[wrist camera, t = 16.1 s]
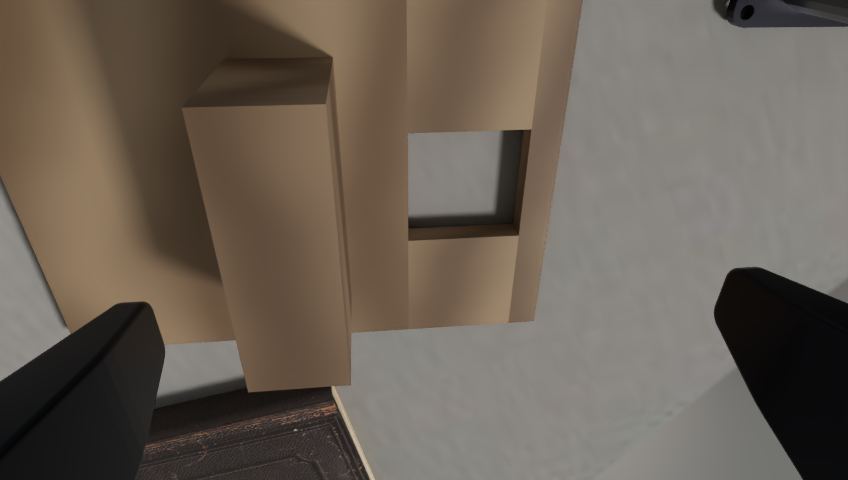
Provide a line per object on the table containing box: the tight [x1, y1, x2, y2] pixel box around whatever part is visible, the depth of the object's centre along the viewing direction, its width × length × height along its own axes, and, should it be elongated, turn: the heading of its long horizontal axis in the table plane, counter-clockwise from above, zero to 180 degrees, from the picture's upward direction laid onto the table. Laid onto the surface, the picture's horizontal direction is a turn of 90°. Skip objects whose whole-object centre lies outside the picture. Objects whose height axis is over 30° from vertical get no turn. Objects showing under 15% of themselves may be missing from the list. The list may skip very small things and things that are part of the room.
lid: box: [0, 0, 583, 392], centre depth 19 cm, size 20×14×6 cm
